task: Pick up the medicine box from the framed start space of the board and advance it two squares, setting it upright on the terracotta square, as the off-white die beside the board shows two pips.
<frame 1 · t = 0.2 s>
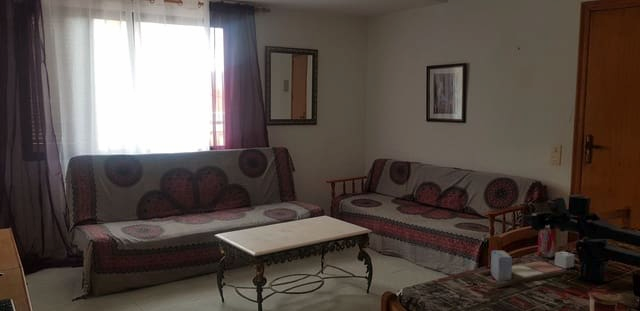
hand: (532, 215, 185), 17 cm above the table, tool horizontal, fingers open, 9 cm apart
board: (519, 274, 169), on the table
die: (564, 265, 178), on the table
medicine box: (500, 279, 165), resting in board
beverage can: (546, 256, 190), on the table
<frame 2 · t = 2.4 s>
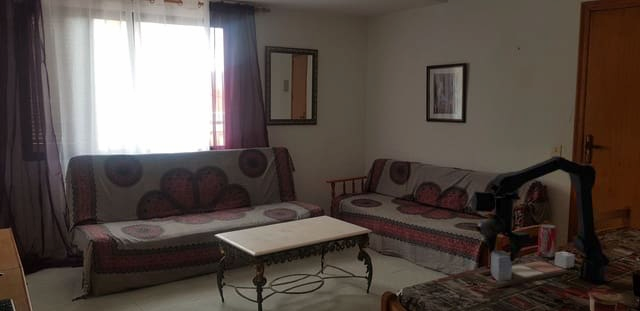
hand: (501, 257, 164), 7 cm above the table, tool pointing down, fingers open, 9 cm apart
nothing on the table moved.
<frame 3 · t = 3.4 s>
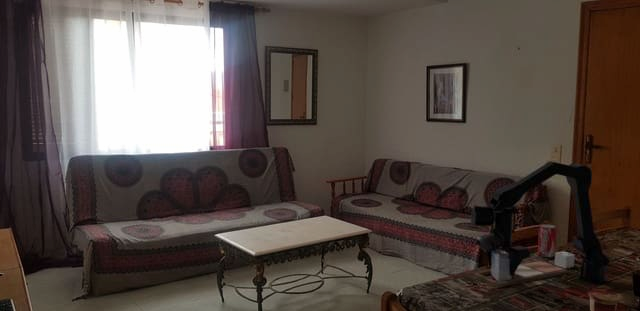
hand: (500, 271, 165), 3 cm above the table, tool pointing down, fingers closed on medicine box, 9 cm apart
medicine box: (500, 279, 165), resting in board, touching gripper
everything else where it was.
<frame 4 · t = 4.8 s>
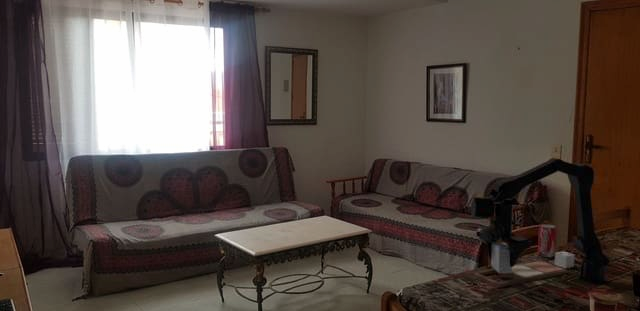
hand: (501, 262, 164), 6 cm above the table, tool pointing down, fingers closed on medicine box, 9 cm apart
medicine box: (500, 270, 165), point 3 cm above the table, touching gripper
everything else where it was.
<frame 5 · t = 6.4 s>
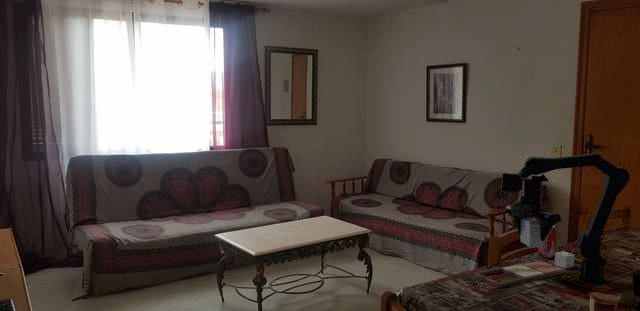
hand: (531, 237, 169), 13 cm above the table, tool pointing down, fingers closed on medicine box, 9 cm apart
medicine box: (530, 245, 169), point 10 cm above the table, touching gripper
everything else where it was.
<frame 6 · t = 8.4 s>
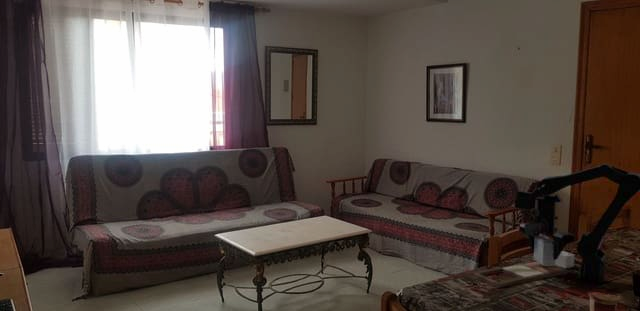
hand: (544, 255, 173), 5 cm above the table, tool pointing down, fingers closed on medicine box, 9 cm apart
medicine box: (543, 263, 173), point 2 cm above the table, touching gripper
everything else where it was.
when the fingers open (5 cm above the table, at t = 9.3 s): medicine box drops 1 cm, resting on board.
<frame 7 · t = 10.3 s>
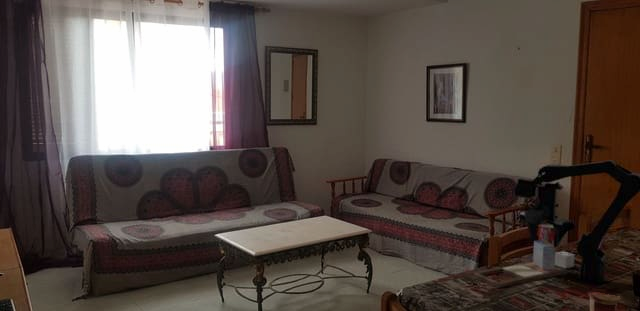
hand: (544, 243, 173), 10 cm above the table, tool pointing down, fingers open, 9 cm apart
medicine box: (543, 267, 174), point 1 cm above the table, touching board
everything else where it was.
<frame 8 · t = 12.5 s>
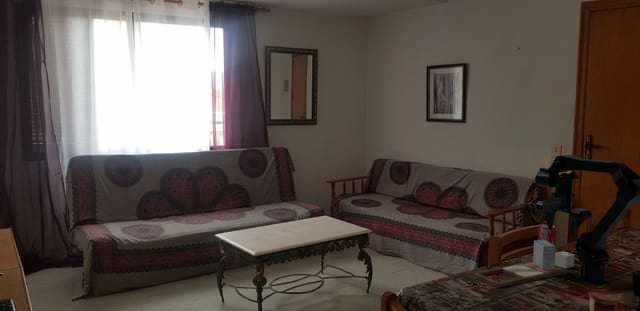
hand: (561, 232, 174), 13 cm above the table, tool pointing down, fingers open, 9 cm apart
nothing on the table moved.
at the end: medicine box 0.0 cm from the target spot on the board, point 1.0 cm above the board's base; medicine box tilted 0°; the gripper is holding nothing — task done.
